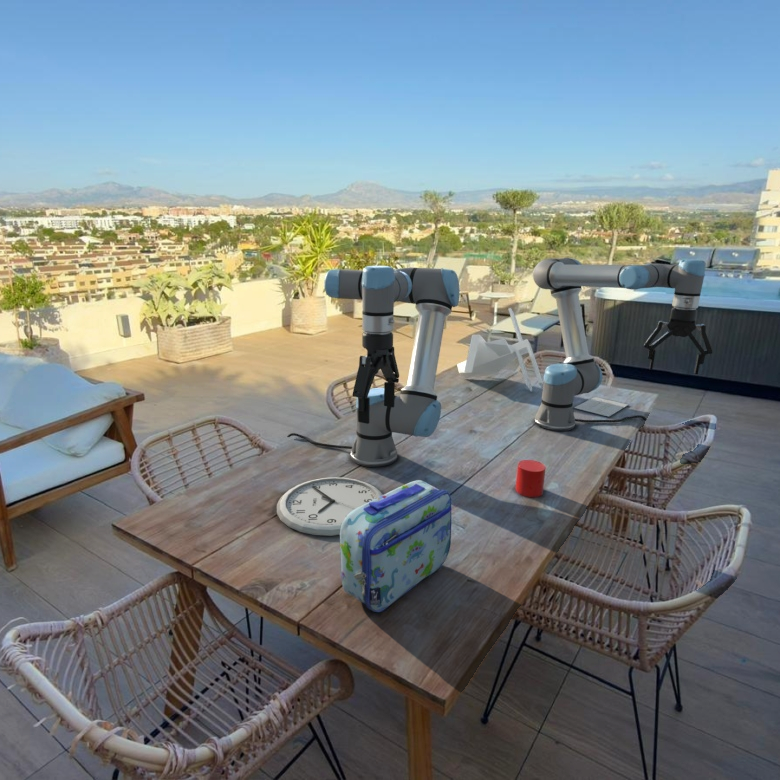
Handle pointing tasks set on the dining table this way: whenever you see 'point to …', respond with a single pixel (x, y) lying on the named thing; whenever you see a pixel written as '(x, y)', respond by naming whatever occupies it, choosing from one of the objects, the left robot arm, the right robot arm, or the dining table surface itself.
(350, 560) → the lunch box
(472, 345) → the white plastic object
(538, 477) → the canister
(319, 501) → the wall clock
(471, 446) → the dining table surface
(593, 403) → the invitation card
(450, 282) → the left robot arm
